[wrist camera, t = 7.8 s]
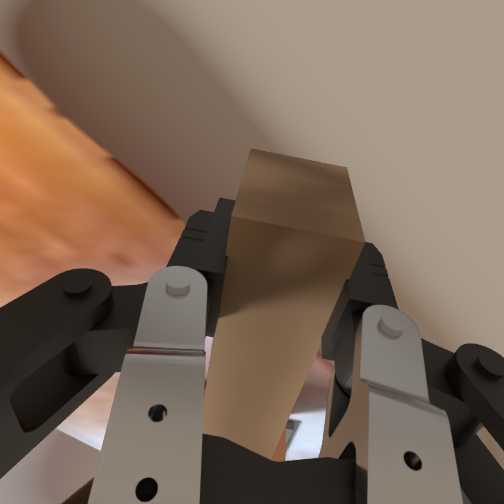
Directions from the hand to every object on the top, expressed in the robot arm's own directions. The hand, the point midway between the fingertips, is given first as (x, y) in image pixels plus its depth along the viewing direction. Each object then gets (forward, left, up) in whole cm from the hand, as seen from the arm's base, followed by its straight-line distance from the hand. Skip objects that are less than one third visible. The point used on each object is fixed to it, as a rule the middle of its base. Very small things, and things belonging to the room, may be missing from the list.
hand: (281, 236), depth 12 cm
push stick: (0, -6, -1) cm, 6 cm away
